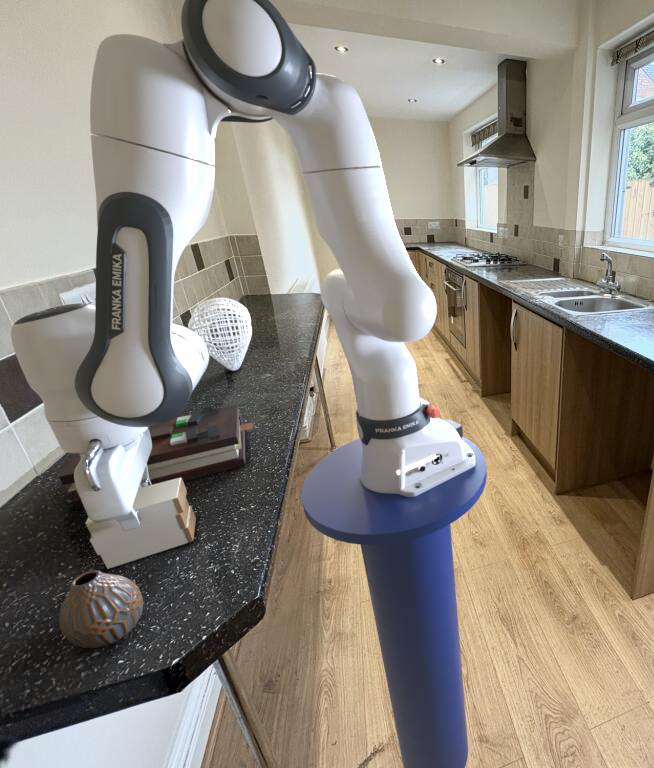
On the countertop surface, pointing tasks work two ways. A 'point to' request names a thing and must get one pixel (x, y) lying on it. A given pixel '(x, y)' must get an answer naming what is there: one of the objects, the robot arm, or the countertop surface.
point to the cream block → (148, 506)
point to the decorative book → (187, 447)
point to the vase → (100, 609)
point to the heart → (246, 341)
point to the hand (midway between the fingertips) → (139, 507)
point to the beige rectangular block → (146, 538)
